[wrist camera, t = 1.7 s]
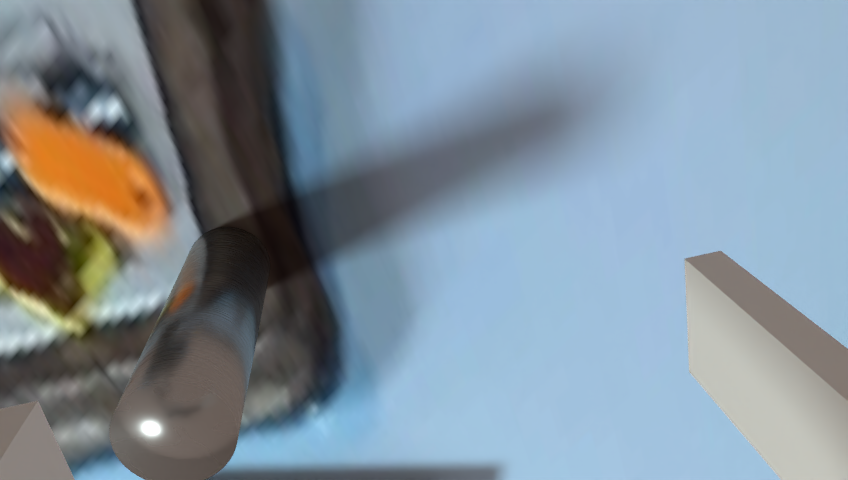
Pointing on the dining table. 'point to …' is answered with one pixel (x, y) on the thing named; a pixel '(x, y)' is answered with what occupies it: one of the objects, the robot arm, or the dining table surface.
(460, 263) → the dining table surface
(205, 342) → the peg
